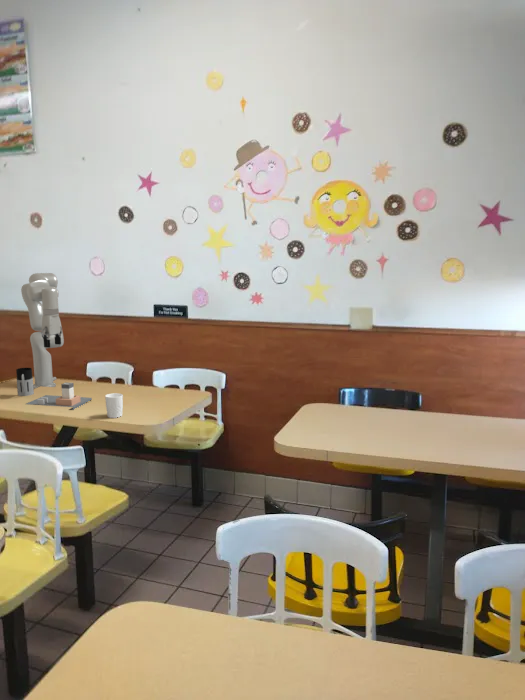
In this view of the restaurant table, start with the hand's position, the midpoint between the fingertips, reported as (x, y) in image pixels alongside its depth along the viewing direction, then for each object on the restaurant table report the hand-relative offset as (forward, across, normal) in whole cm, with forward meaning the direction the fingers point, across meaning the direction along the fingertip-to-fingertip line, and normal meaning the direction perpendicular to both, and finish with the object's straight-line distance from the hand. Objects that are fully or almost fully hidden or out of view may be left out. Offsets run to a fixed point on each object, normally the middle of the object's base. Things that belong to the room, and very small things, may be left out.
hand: (52, 345), depth 278 cm
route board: (+28, +7, +6) cm, 30 cm away
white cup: (+28, +21, +43) cm, 56 cm away
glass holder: (+28, +1, -17) cm, 33 cm away
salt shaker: (+27, +10, +13) cm, 31 cm away
